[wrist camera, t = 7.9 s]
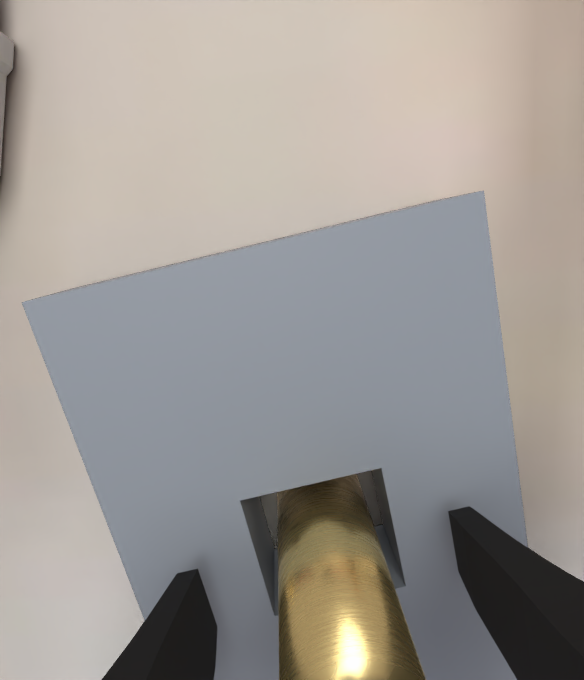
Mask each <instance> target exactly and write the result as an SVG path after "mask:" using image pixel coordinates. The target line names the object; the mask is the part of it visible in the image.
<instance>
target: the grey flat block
mask: <svg viewBox="0 0 584 680" xmlns="http://www.w3.org/2000/svg"><path fill="white" fill-rule="evenodd" d="M22 305H23V307H24V310H25V312H26V315H27V318H28V320H29V323H30V325H31V328H32V330H33V333H34V336H35V338H36V341H37V343H38V346H39V349H40V351H41V354H42V356H43V359H44V361H45V364H46V367H47V369H48V372H49V374H50V377H51V380H52V382H53V385H54V387H55V390H56V392H57V395H58V398H59V400H60V403H61V405H62V408H63V411H64V413H65V416H66V418H67V421H68V423H69V426H70V429H71V431H72V434H73V436H74V439H75V442H76V444H77V447H78V449H79V452H80V454H81V457H82V460H83V462H84V465H85V467H86V470H87V473H88V475H89V478H90V480H91V483H92V485H93V488H94V491H95V493H96V496H97V498H98V501H99V504H100V506H101V509H102V511H103V514H104V516H105V519H106V522H107V524H108V527H109V529H110V532H111V535H112V537H113V540H114V542H115V545H116V547H117V550H118V553H119V555H120V558H121V560H122V563H123V566H124V568H125V571H126V573H127V576H128V578H129V581H130V584H131V586H132V589H133V591H134V594H135V597H136V599H137V602H138V604H139V607H140V609H141V612H142V615H143V617H144V620H146V619H147V617H148V616H149V614H150V613H151V611H152V610H153V608H154V607H155V605H156V604H157V602H158V601H159V599H160V598H161V596H162V595H163V593H164V592H165V590H166V589H167V587H168V586H169V584H170V583H171V581H172V580H173V578H174V577H175V576H176V574H177V573H181V572H185V571H189V570H194V569H198V571H199V574H200V577H201V579H202V582H203V585H204V588H205V591H206V594H207V597H208V600H209V603H210V606H211V609H212V612H213V615H214V618H215V621H216V624H217V650H216V666H215V674H214V680H279V618H278V549H274V546H273V543H272V539H271V536H270V532H269V529H268V525H267V522H266V518H265V515H264V511H263V508H262V504H261V501H260V497H259V496H262V495H266V494H271V493H275V492H279V491H284V490H288V489H292V488H297V487H301V486H305V485H310V484H314V483H318V482H323V481H327V480H331V479H335V478H340V477H344V476H348V475H353V474H357V473H361V472H366V471H370V470H371V471H372V476H373V480H374V485H375V490H376V494H377V499H378V504H379V508H380V513H381V518H382V522H383V525H379V526H375V527H374V528H375V530H376V533H377V536H378V539H379V542H380V545H381V548H382V551H383V554H384V557H385V560H386V563H387V566H388V569H389V572H390V575H391V578H392V581H393V584H394V587H395V590H396V593H397V595H398V598H399V601H400V604H401V607H402V610H403V613H404V616H405V619H406V622H407V625H408V628H409V631H410V634H411V637H412V640H413V643H414V646H415V649H416V652H417V655H418V658H419V660H420V663H421V666H422V669H423V672H424V675H425V678H426V680H517V679H516V677H515V675H514V673H513V672H512V670H511V668H510V667H509V665H508V663H507V662H506V660H505V658H504V657H503V655H502V653H501V652H500V650H499V648H498V647H497V645H496V643H495V641H494V640H493V638H492V636H491V635H490V633H489V631H488V630H487V628H486V626H485V625H484V623H483V621H482V619H481V618H480V616H479V614H478V613H477V611H476V609H475V607H474V605H473V603H472V601H471V598H470V596H469V594H468V592H467V590H466V588H465V585H464V583H463V581H462V579H461V576H460V574H459V572H458V567H457V561H456V555H455V549H454V543H453V537H452V531H451V526H450V520H449V514H448V511H451V510H455V509H460V508H464V507H468V506H470V507H471V508H473V509H474V510H476V511H477V512H479V513H480V514H481V515H483V516H484V517H485V518H487V519H488V520H489V521H491V522H492V523H493V524H495V525H496V526H497V527H499V528H500V529H502V530H503V531H504V532H506V533H507V534H509V535H510V536H511V537H513V538H514V539H516V540H517V541H519V542H520V543H522V544H523V545H525V546H526V547H528V544H527V536H526V528H525V520H524V512H523V504H522V496H521V488H520V480H519V472H518V464H517V455H516V447H515V439H514V431H513V423H512V415H511V407H510V399H509V391H508V383H507V375H506V367H505V358H504V350H503V342H502V334H501V326H500V318H499V310H498V302H497V294H496V286H495V278H494V269H493V261H492V253H491V245H490V237H489V229H488V221H487V213H486V205H485V197H484V191H479V192H474V193H469V194H464V195H459V196H455V197H450V198H445V199H440V200H436V201H432V202H428V203H423V204H419V205H415V206H411V207H407V208H403V209H399V210H394V211H390V212H386V213H382V214H378V215H374V216H370V217H366V218H361V219H357V220H353V221H349V222H345V223H341V224H337V225H333V226H328V227H324V228H320V229H316V230H312V231H308V232H304V233H300V234H295V235H291V236H287V237H283V238H279V239H275V240H271V241H267V242H262V243H258V244H254V245H250V246H246V247H242V248H238V249H233V250H229V251H225V252H221V253H217V254H213V255H209V256H205V257H200V258H196V259H192V260H188V261H184V262H180V263H176V264H172V265H167V266H163V267H159V268H155V269H151V270H147V271H143V272H139V273H134V274H130V275H126V276H122V277H118V278H114V279H110V280H106V281H101V282H97V283H93V284H89V285H85V286H81V287H77V288H73V289H69V290H65V291H62V292H58V293H54V294H51V295H47V296H43V297H40V298H36V299H32V300H29V301H25V302H22Z"/></svg>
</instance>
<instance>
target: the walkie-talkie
mask: <svg viewBox="0 0 584 680" xmlns="http://www.w3.org/2000/svg"><path fill="white" fill-rule="evenodd" d="M13 56H14V42H13V40H11V39H10V38H9V37H7V36H6V35H5V34H3V33H2V32H1V31H0V174H1V158H2V142H3V126H4V111H5V95H6V79H7V75H8V74H9V73H10V72H11V71H12V69H13Z"/></svg>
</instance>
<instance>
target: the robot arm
mask: <svg viewBox="0 0 584 680" xmlns="http://www.w3.org/2000/svg"><path fill="white" fill-rule="evenodd" d="M448 514H449V520H450V526H451V531H452V537H453V543H454V549H455V555H456V561H457V567H458V572H459V574H460V576H461V579H462V581H463V583H464V585H465V588H466V590H467V592H468V594H469V596H470V598H471V601H472V603H473V605H474V607H475V609H476V611H477V613H478V614H479V616H480V618H481V619H482V621H483V623H484V625H485V626H486V628H487V630H488V631H489V633H490V635H491V636H492V638H493V640H494V641H495V643H496V645H497V647H498V648H499V650H500V652H501V653H502V655H503V657H504V658H505V660H506V662H507V663H508V665H509V667H510V668H511V670H512V672H513V673H514V675H515V677H516V679H517V680H584V582H583V581H581V580H579V579H578V578H576V577H574V576H572V575H571V574H569V573H567V572H565V571H564V570H562V569H560V568H559V567H557V566H556V565H554V564H552V563H551V562H549V561H547V560H546V559H544V558H543V557H541V556H540V555H538V554H537V553H535V552H534V551H532V550H531V549H529V548H528V547H526V546H525V545H523V544H522V543H520V542H519V541H517V540H516V539H514V538H513V537H511V536H510V535H509V534H507V533H506V532H504V531H503V530H502V529H500V528H499V527H497V526H496V525H495V524H493V523H492V522H491V521H489V520H488V519H487V518H485V517H484V516H483V515H481V514H480V513H479V512H477V511H476V510H474V509H473V508H471V507H470V506H468V507H464V508H460V509H455V510H451V511H448ZM216 650H217V624H216V621H215V618H214V615H213V612H212V609H211V606H210V603H209V600H208V597H207V594H206V591H205V588H204V585H203V582H202V579H201V577H200V574H199V571H198V569H194V570H189V571H185V572H181V573H177V574H176V576H175V577H174V578H173V580H172V581H171V583H170V584H169V586H168V587H167V589H166V590H165V592H164V593H163V595H162V596H161V598H160V599H159V601H158V602H157V604H156V605H155V607H154V608H153V610H152V611H151V613H150V614H149V616H148V617H147V619H146V620H145V621H144V623H143V624H142V626H141V627H140V629H139V630H138V632H137V633H136V634H135V636H134V637H133V639H132V640H131V642H130V643H129V644H128V646H127V647H126V648H125V650H124V651H123V652H122V654H121V655H120V656H119V658H118V659H117V660H116V662H115V663H114V664H113V666H112V667H111V668H110V670H109V671H108V672H107V674H106V675H105V676H104V677H103V679H102V680H214V674H215V666H216Z"/></svg>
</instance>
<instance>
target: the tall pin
mask: <svg viewBox="0 0 584 680" xmlns="http://www.w3.org/2000/svg"><path fill="white" fill-rule="evenodd" d="M277 510H278V618H279V680H426V678H425V675H424V672H423V669H422V666H421V663H420V660H419V658H418V655H417V652H416V649H415V646H414V643H413V640H412V637H411V634H410V631H409V628H408V625H407V622H406V619H405V616H404V613H403V610H402V607H401V604H400V601H399V598H398V595H397V593H396V590H395V587H394V584H393V581H392V578H391V575H390V572H389V569H388V566H387V563H386V560H385V557H384V554H383V551H382V548H381V545H380V542H379V539H378V536H377V533H376V530H375V528H374V525H373V522H372V519H371V516H370V513H369V510H368V507H367V504H366V501H365V498H364V495H363V492H362V489H361V486H360V483H359V480H358V477H357V475H356V474H353V475H348V476H344V477H340V478H335V479H331V480H327V481H323V482H318V483H314V484H310V485H305V486H301V487H297V488H292V489H288V490H284V491H279V492H277Z"/></svg>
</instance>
